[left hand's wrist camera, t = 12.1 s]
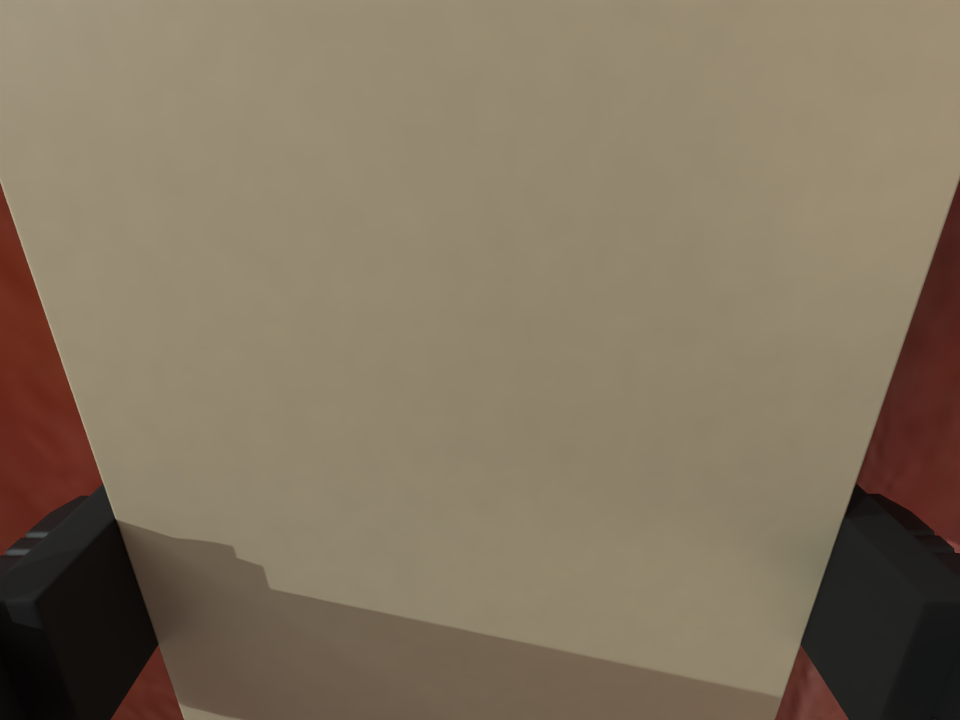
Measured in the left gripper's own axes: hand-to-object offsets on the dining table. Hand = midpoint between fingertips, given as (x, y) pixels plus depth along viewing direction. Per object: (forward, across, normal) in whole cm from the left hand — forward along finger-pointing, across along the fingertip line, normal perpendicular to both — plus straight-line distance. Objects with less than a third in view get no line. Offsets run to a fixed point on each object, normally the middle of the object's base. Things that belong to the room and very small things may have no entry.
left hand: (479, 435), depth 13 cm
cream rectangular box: (+3, 0, -6) cm, 6 cm away
